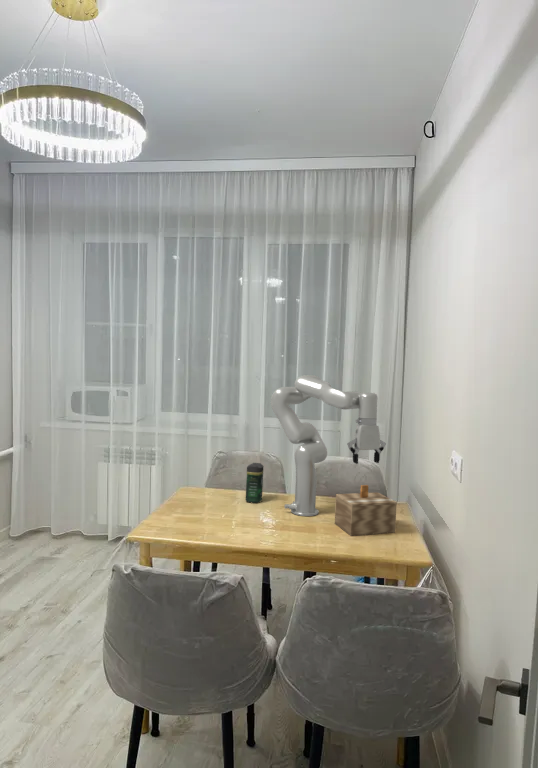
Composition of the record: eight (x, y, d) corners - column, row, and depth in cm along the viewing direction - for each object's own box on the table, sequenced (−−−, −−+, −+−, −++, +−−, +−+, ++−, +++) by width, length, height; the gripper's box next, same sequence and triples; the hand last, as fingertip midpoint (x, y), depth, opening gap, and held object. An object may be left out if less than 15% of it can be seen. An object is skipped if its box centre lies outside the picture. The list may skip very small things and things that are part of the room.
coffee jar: (259, 504, 251) (261, 465, 250) (243, 502, 253) (245, 464, 252) (263, 499, 261) (265, 462, 260) (248, 497, 262) (249, 461, 261)
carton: (350, 536, 209) (352, 503, 209) (334, 523, 224) (335, 493, 224) (395, 533, 215) (396, 501, 214) (376, 521, 230) (377, 492, 230)
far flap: (343, 500, 216) (344, 486, 216) (335, 495, 224) (336, 482, 224) (386, 498, 222) (387, 485, 222) (377, 494, 230) (378, 481, 229)
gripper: (352, 423, 213) (351, 465, 214) (390, 423, 218) (388, 463, 219) (344, 421, 220) (343, 461, 221) (381, 421, 225) (380, 460, 226)
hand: (366, 462), depth 220 cm, fingers open, 9 cm apart
